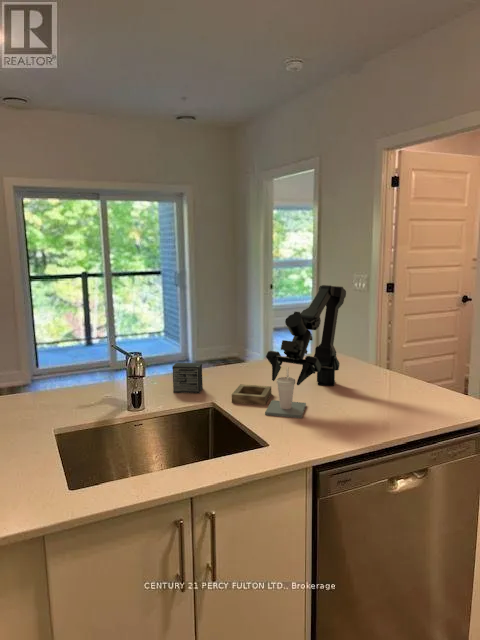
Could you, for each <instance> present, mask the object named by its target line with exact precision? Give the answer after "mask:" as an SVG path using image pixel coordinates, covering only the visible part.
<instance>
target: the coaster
mask: <svg viewBox="0 0 480 640" xmlns="http://www.w3.org/2000/svg"><path fill="white" fill-rule="evenodd" d="M306 406H307V403H306V402H299V401H292V406H291V408H290V409H282V408H281V407H280V400H274V399H271V401H270V403H269V405H268V406H267V409H266V410H265V413H264V414H265V415H264V416H270V415H271V417H283V418H291V419H293V418H294V419H302V418H303V415H304V412H305V409H306Z"/></svg>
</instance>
